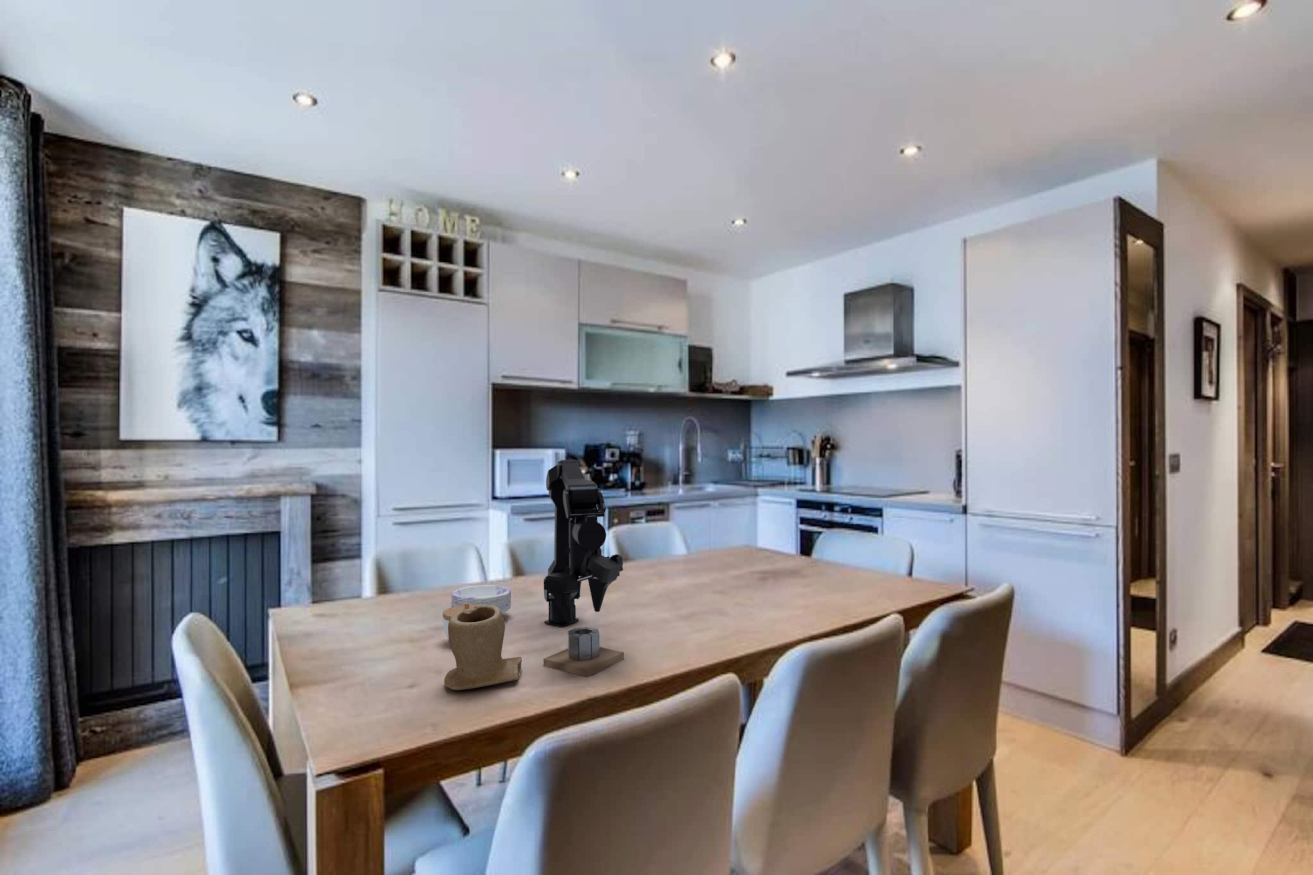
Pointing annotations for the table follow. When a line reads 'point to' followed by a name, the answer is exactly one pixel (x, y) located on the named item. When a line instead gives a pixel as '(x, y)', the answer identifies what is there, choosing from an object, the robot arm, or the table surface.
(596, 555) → the robot arm
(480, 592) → the paper bowls
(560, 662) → the block
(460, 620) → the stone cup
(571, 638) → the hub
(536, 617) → the table surface
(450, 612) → the lidded jar
